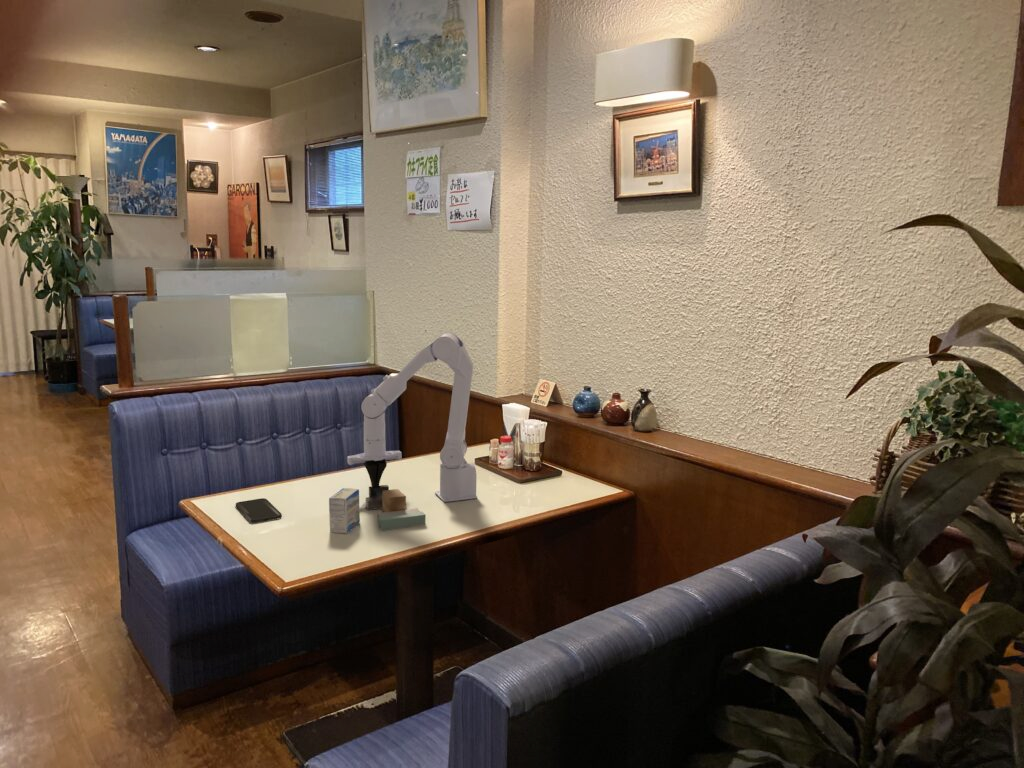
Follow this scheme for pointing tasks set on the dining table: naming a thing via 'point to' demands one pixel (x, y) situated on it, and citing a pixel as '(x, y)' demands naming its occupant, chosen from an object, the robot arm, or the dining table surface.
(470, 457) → the dining table surface
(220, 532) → the dining table surface
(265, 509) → the phone
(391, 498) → the walnut block
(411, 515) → the teal flat block
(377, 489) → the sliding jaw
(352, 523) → the medicine box
